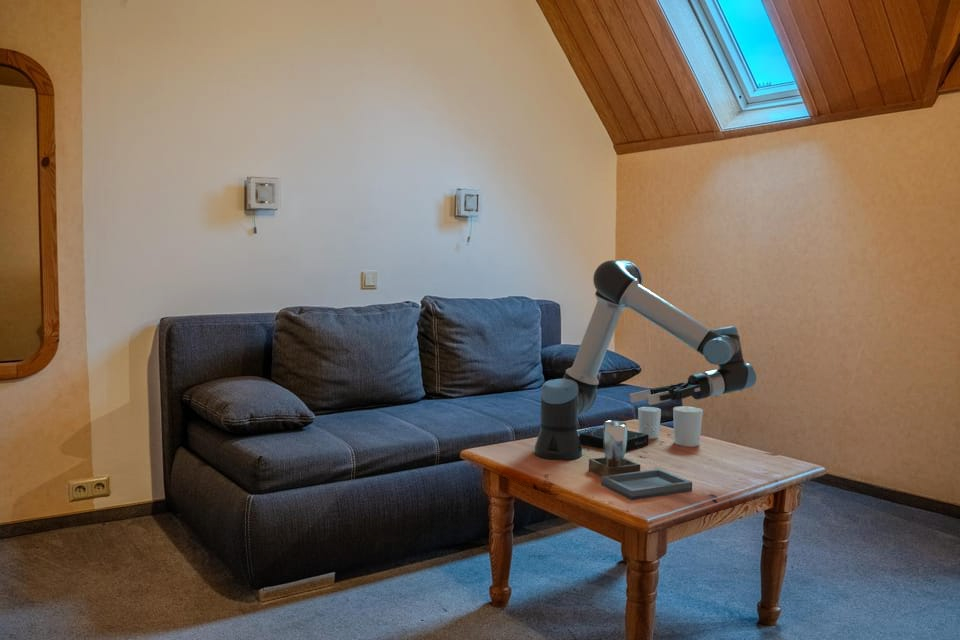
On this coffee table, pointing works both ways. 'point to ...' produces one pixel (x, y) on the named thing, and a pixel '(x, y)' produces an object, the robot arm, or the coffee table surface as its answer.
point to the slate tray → (646, 484)
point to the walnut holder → (602, 470)
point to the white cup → (649, 421)
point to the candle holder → (687, 425)
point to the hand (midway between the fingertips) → (639, 399)
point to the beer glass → (614, 442)
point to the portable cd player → (596, 439)
